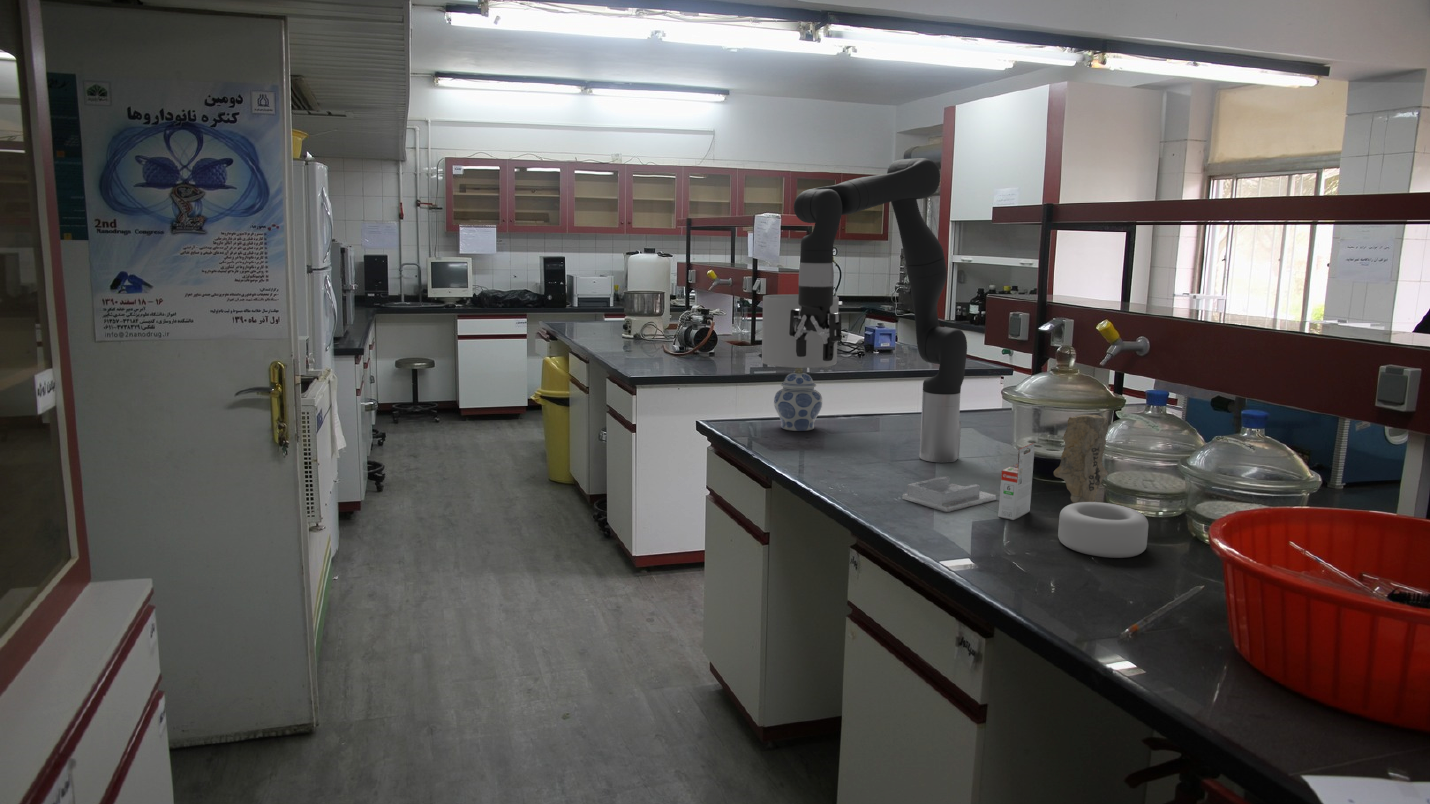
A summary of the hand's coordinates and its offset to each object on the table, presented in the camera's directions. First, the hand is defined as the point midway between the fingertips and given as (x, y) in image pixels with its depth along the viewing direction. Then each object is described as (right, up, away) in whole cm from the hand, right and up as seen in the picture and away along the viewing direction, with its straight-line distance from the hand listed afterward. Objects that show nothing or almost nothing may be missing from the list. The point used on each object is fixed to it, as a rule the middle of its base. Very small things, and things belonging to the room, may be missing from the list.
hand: (814, 358), depth 205 cm
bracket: (+28, -30, -4) cm, 42 cm away
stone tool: (+54, -32, -10) cm, 63 cm away
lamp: (+2, -17, +68) cm, 71 cm away
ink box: (+39, -33, -15) cm, 53 cm away
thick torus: (+49, -36, -33) cm, 69 cm away
